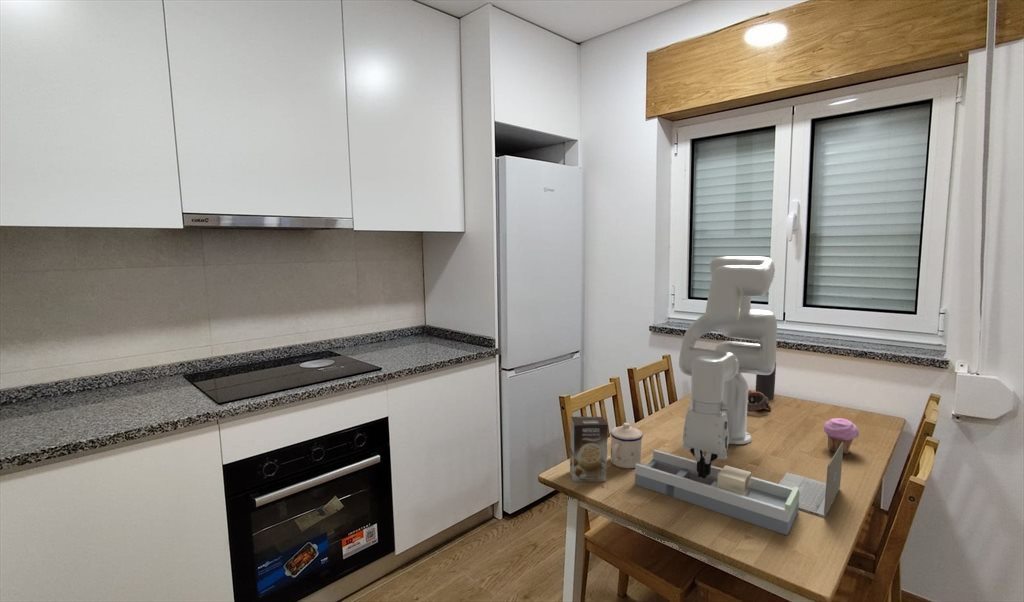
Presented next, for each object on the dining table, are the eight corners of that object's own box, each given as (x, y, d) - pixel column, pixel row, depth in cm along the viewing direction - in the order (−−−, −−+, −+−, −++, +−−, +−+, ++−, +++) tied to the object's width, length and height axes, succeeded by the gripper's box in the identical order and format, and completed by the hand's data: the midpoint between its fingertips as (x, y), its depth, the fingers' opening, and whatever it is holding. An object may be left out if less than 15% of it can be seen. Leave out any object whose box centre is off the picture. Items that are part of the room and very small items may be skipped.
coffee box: (573, 482, 133) (573, 425, 131) (569, 471, 139) (569, 416, 137) (607, 481, 133) (608, 424, 131) (602, 470, 139) (602, 415, 137)
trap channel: (654, 468, 141) (654, 446, 140) (798, 511, 118) (799, 486, 117) (635, 484, 131) (635, 461, 131) (787, 535, 109) (789, 507, 108)
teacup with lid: (619, 452, 151) (620, 415, 149) (647, 461, 145) (648, 423, 143) (598, 466, 142) (599, 427, 140) (627, 476, 136) (628, 435, 134)
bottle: (758, 400, 198) (761, 350, 195) (752, 394, 204) (755, 347, 202) (776, 400, 196) (779, 351, 194) (770, 395, 203) (773, 347, 201)
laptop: (786, 474, 137) (789, 429, 135) (840, 489, 128) (844, 441, 127) (767, 500, 124) (770, 450, 122) (825, 519, 115) (829, 465, 113)
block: (724, 483, 125) (725, 465, 125) (750, 491, 121) (751, 472, 121) (716, 493, 121) (717, 474, 120) (743, 501, 117) (744, 481, 116)
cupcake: (819, 450, 151) (821, 419, 149) (825, 442, 157) (827, 411, 156) (854, 459, 145) (857, 426, 143) (859, 450, 151) (862, 418, 150)
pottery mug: (778, 415, 182) (773, 399, 179) (754, 426, 183) (749, 410, 179) (759, 397, 193) (754, 381, 190) (737, 407, 194) (731, 392, 190)
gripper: (742, 408, 121) (739, 479, 123) (682, 396, 131) (679, 462, 133) (733, 416, 115) (729, 491, 118) (671, 403, 125) (668, 472, 127)
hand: (703, 475), depth 125 cm, fingers closed
